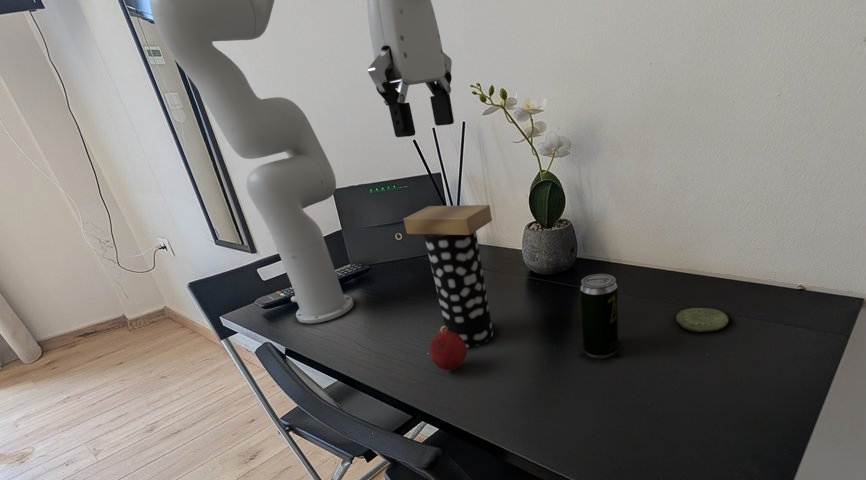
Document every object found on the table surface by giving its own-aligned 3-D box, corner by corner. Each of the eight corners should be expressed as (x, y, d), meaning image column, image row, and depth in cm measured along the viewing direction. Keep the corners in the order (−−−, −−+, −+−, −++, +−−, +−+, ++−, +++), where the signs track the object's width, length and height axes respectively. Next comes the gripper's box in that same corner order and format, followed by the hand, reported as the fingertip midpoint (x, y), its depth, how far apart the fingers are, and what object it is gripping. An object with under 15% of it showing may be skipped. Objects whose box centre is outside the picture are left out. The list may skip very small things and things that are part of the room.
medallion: (680, 307, 82) (681, 303, 82) (730, 311, 79) (731, 307, 78) (671, 329, 77) (672, 325, 76) (725, 334, 73) (725, 330, 73)
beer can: (581, 359, 73) (577, 288, 67) (586, 341, 78) (582, 273, 71) (616, 360, 72) (615, 287, 65) (619, 342, 76) (618, 272, 70)
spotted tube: (488, 347, 81) (467, 233, 70) (442, 348, 83) (416, 238, 72) (497, 324, 88) (479, 217, 77) (455, 325, 90) (432, 222, 79)
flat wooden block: (406, 234, 75) (403, 218, 74) (431, 220, 80) (428, 205, 79) (469, 235, 70) (466, 218, 68) (492, 220, 75) (489, 204, 73)
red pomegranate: (456, 383, 73) (445, 338, 69) (428, 376, 76) (416, 333, 72) (476, 363, 77) (468, 320, 73) (449, 358, 80) (439, 316, 76)
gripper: (414, -9, 67) (438, 123, 76) (326, -15, 55) (367, 143, 64) (458, -21, 64) (477, 118, 73) (374, -30, 51) (410, 139, 60)
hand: (426, 130), depth 68 cm, fingers open, 9 cm apart
